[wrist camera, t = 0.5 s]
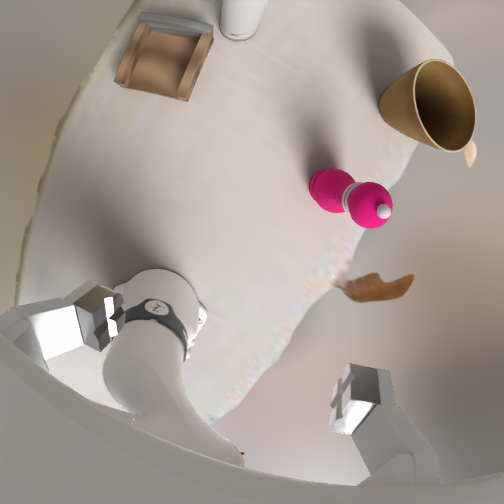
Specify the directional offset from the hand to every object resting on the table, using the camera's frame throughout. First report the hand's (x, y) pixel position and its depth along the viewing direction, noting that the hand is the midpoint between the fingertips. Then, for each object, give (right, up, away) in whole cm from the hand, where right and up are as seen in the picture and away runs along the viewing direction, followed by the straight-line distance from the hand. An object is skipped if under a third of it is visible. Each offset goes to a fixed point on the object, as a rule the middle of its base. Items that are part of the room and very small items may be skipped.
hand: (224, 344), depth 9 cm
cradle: (-13, +34, +28) cm, 46 cm away
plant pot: (+28, +30, +36) cm, 55 cm away
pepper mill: (+14, +15, +40) cm, 45 cm away
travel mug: (-1, +41, +28) cm, 49 cm away
